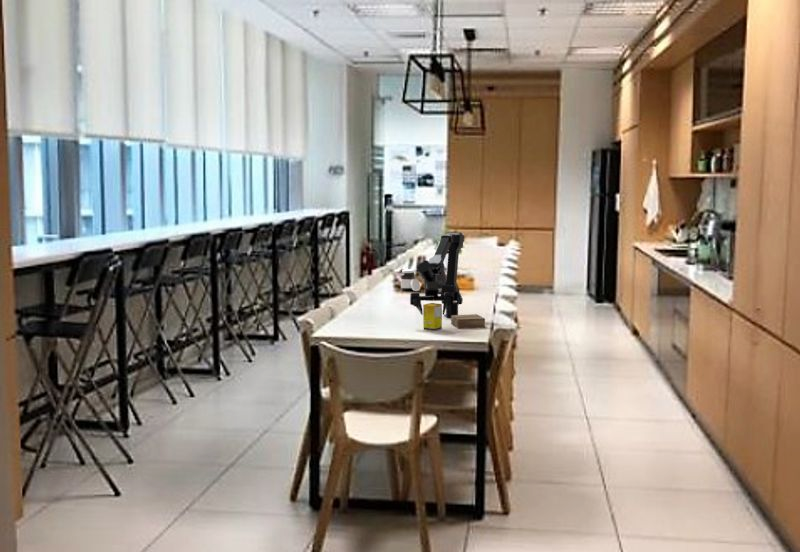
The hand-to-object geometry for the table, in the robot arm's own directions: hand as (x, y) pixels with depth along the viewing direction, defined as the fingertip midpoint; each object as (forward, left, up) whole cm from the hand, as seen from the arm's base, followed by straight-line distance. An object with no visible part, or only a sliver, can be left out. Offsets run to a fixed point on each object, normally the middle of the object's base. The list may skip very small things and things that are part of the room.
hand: (432, 314), depth 396 cm
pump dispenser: (-114, +32, -7) cm, 119 cm away
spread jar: (-126, +19, -7) cm, 128 cm away
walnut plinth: (-5, +17, -7) cm, 19 cm away
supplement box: (-1, 0, -7) cm, 7 cm away
